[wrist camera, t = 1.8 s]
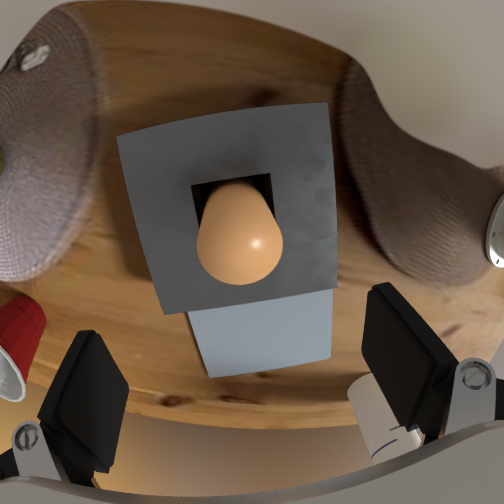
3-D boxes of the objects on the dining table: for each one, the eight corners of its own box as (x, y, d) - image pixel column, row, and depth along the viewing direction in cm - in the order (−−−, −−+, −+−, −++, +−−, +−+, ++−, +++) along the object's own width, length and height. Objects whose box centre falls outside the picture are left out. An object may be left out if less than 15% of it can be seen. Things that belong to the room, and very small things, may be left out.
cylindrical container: (340, 388, 40) (391, 530, 17) (380, 364, 38) (449, 502, 16) (355, 405, 42) (401, 528, 20) (391, 384, 41) (449, 503, 18)
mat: (330, 278, 31) (332, 280, 31) (329, 354, 36) (330, 358, 36) (185, 301, 31) (185, 304, 30) (209, 374, 36) (209, 377, 35)
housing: (309, 106, 24) (327, 102, 19) (322, 263, 30) (337, 287, 26) (135, 134, 23) (116, 136, 19) (172, 287, 30) (164, 314, 26)
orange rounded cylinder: (257, 170, 26) (278, 198, 16) (264, 221, 28) (286, 277, 18) (203, 179, 26) (188, 213, 16) (212, 230, 28) (206, 290, 18)
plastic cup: (60, 292, 29) (13, 358, 18) (63, 352, 33) (32, 414, 22) (-1, 265, 27) (-53, 314, 16) (7, 325, 31) (-30, 377, 20)
